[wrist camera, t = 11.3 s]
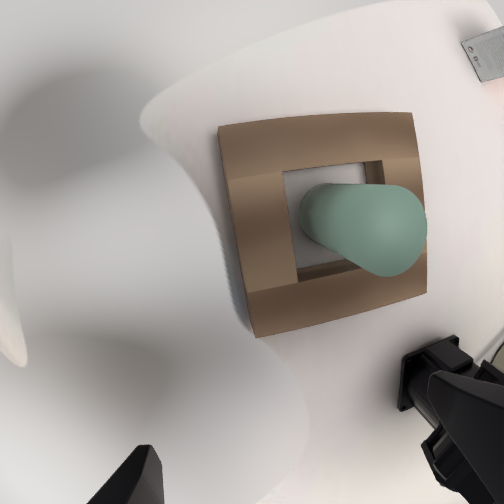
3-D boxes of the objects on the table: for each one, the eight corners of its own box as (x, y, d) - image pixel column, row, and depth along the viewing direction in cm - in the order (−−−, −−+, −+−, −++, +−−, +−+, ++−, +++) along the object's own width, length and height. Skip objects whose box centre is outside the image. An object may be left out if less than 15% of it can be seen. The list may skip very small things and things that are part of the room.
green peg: (357, 238, 21) (428, 266, 13) (303, 249, 21) (355, 286, 13) (351, 180, 20) (423, 181, 12) (294, 188, 20) (346, 190, 12)
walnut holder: (408, 283, 22) (426, 292, 20) (250, 321, 21) (255, 338, 19) (392, 118, 20) (411, 112, 17) (217, 133, 19) (218, 126, 16)
